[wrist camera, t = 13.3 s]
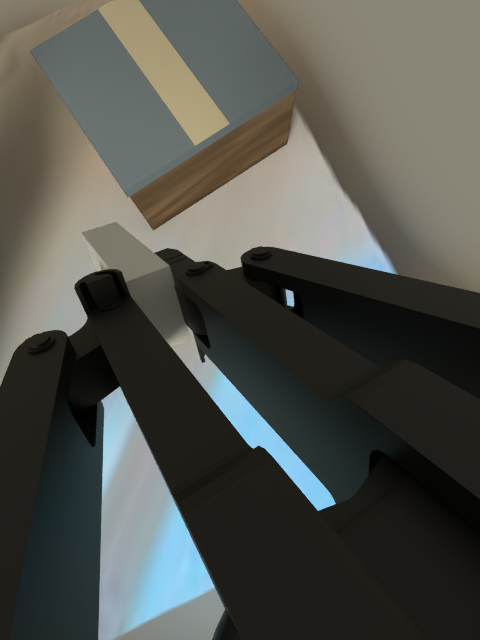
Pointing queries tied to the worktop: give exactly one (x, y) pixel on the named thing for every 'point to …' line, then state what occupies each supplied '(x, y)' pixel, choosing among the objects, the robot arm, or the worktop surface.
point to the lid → (162, 80)
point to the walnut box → (215, 164)
